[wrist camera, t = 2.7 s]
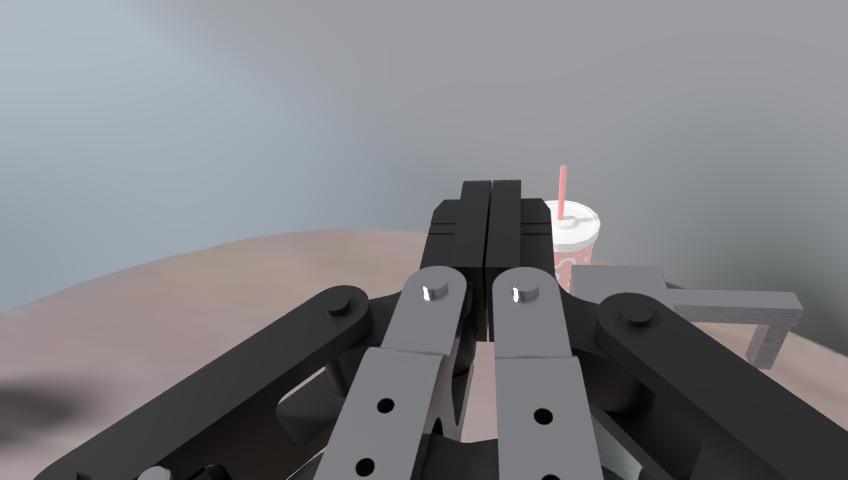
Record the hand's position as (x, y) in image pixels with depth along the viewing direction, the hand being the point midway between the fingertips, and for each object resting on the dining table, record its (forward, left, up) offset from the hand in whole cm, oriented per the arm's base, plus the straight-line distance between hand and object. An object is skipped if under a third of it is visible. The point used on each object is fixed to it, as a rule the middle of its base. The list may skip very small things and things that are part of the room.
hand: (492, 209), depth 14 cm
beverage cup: (+19, +14, -26) cm, 35 cm away
